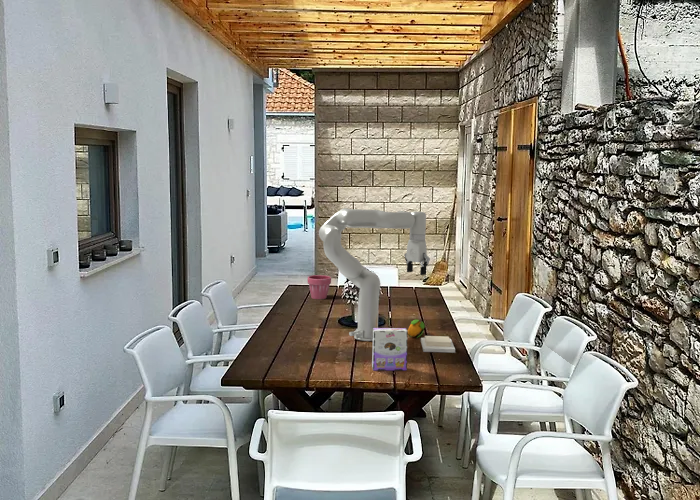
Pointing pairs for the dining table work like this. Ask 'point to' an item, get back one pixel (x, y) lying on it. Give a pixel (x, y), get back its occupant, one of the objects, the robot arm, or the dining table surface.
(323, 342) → the dining table surface
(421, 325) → the corn
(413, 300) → the dining table surface
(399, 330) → the candy box
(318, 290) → the plant pot
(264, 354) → the dining table surface
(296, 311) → the dining table surface
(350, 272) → the robot arm
